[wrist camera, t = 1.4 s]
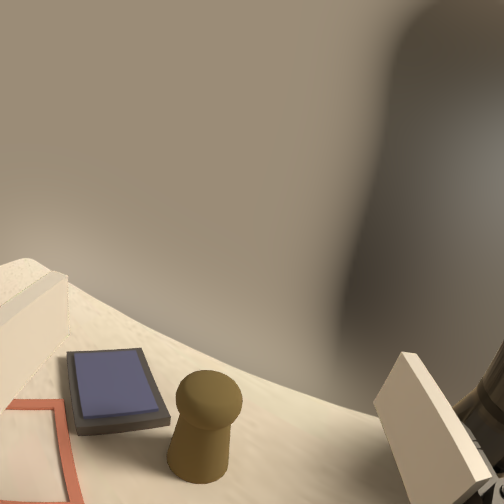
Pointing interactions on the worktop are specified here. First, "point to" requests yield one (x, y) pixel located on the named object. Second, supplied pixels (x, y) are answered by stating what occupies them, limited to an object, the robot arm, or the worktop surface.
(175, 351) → the worktop surface
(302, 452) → the worktop surface
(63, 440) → the marked square
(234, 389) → the cork
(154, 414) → the ink pad
